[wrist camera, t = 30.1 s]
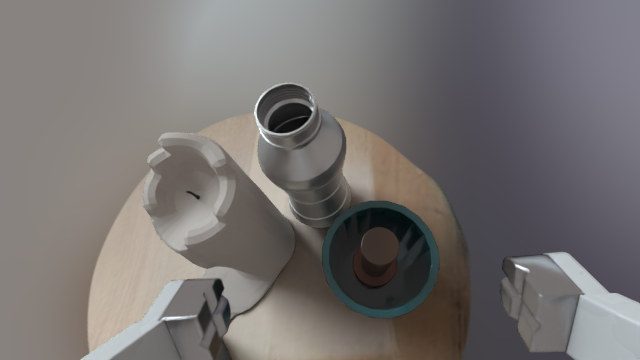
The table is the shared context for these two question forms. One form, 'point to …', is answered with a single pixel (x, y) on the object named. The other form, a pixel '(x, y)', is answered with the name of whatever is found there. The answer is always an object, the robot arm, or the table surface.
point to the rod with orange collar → (376, 257)
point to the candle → (216, 217)
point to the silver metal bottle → (303, 153)
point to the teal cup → (412, 260)
